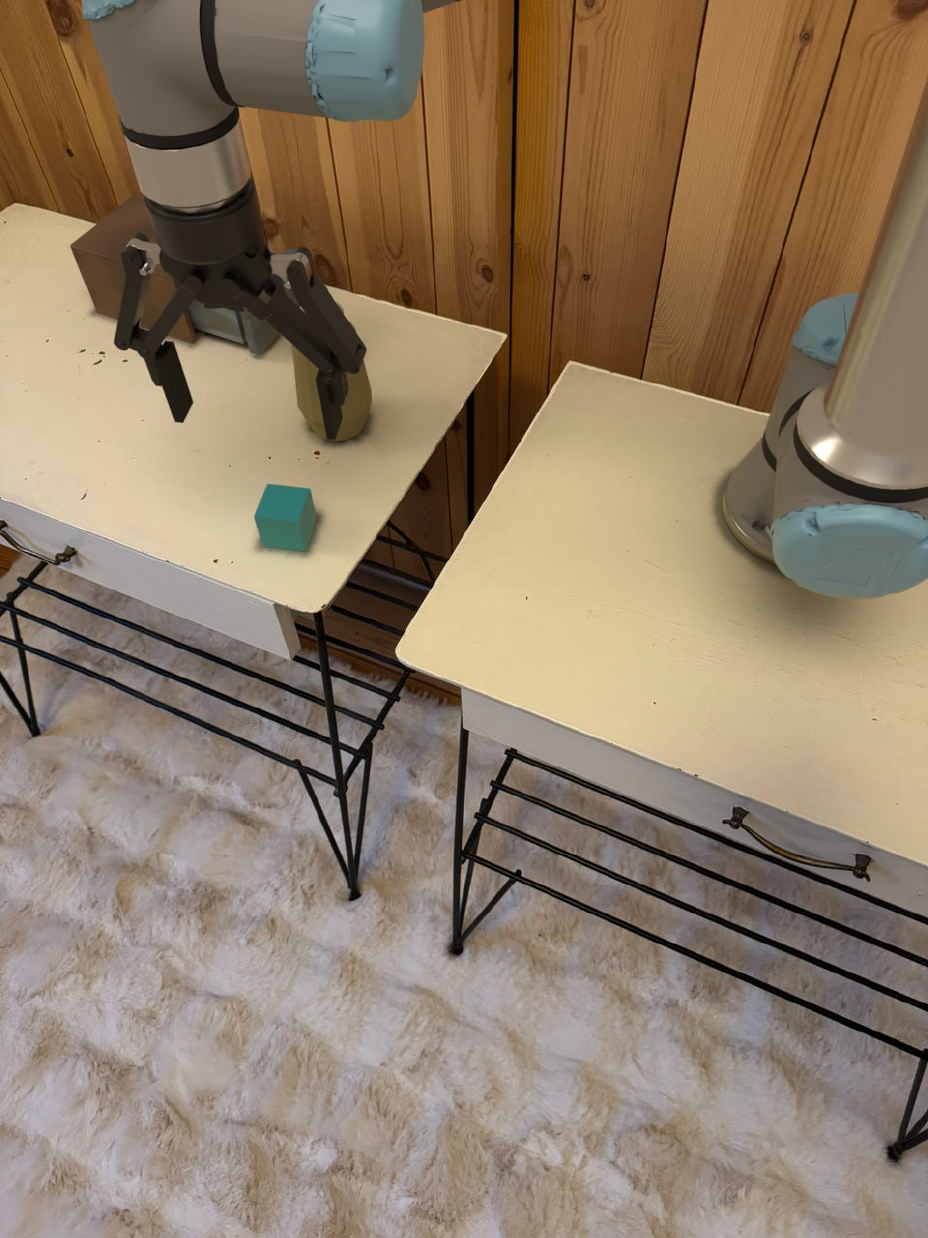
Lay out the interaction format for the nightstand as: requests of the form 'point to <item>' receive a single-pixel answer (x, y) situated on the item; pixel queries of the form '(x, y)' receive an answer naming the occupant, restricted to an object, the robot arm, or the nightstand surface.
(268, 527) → the teal rectangular block
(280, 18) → the robot arm
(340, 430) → the squeeze bottle
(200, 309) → the grey drawer
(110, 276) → the drawer cabinet
